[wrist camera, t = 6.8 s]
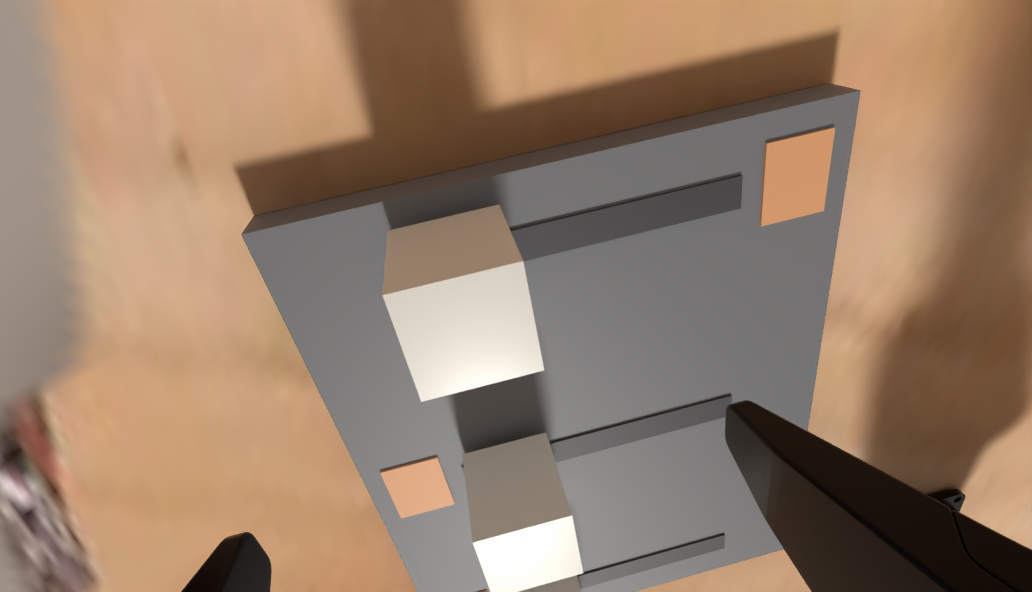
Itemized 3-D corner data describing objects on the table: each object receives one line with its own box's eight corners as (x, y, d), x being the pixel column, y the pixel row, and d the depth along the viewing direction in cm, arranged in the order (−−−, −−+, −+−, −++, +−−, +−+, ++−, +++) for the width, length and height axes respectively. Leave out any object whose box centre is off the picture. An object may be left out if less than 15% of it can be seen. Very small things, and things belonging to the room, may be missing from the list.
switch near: (499, 204, 16) (523, 261, 13) (518, 298, 18) (544, 370, 15) (387, 230, 16) (382, 295, 13) (418, 323, 18) (421, 402, 15)
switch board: (829, 83, 18) (862, 91, 17) (773, 524, 31) (790, 549, 30) (253, 216, 17) (240, 236, 16) (442, 618, 30) (444, 647, 29)
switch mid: (546, 432, 22) (572, 515, 18) (557, 488, 23) (583, 573, 20) (462, 454, 21) (472, 542, 18) (480, 509, 23) (492, 598, 20)
